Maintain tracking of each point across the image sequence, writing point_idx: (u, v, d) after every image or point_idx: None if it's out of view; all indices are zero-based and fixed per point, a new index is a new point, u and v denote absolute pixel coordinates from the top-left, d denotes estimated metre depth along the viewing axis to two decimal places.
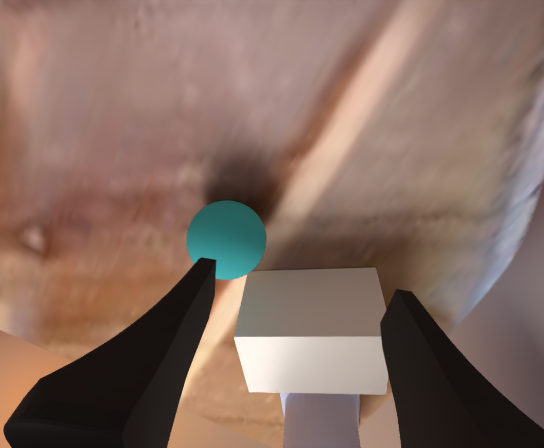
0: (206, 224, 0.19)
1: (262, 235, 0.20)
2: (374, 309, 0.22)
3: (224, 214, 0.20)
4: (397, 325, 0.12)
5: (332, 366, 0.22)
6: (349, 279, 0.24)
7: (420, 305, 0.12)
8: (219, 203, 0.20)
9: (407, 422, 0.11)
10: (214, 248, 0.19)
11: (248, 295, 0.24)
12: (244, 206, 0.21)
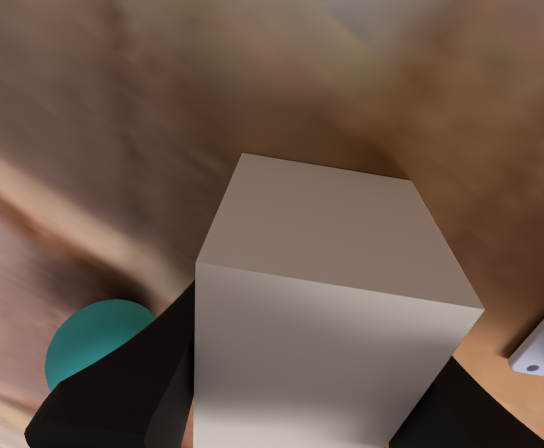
0: None
1: (85, 326, 0.14)
2: None
3: None
4: None
5: (304, 379, 0.09)
6: None
7: None
8: None
9: None
10: None
11: None
12: (70, 317, 0.15)
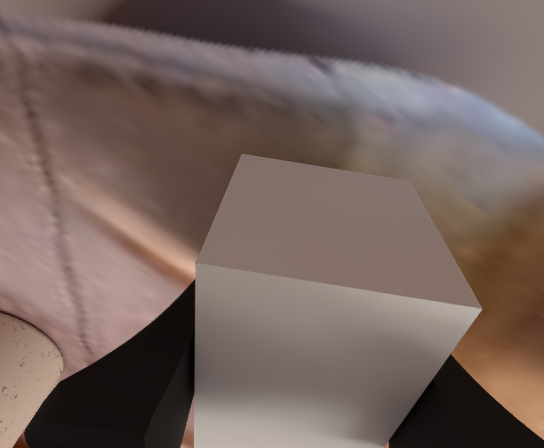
0: None
1: None
2: None
3: None
4: None
5: (303, 378, 0.09)
6: None
7: None
8: None
9: None
10: None
11: None
12: None
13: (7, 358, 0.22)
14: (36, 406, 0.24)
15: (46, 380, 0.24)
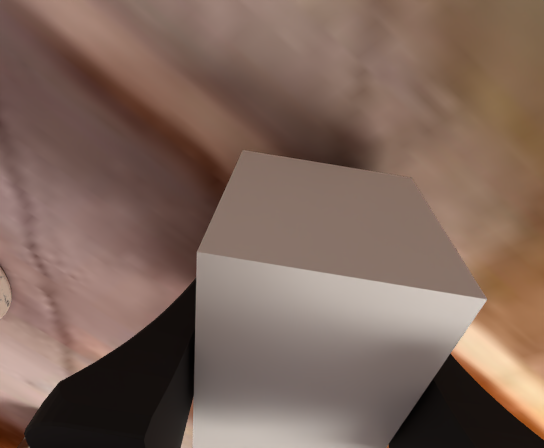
0: None
1: None
2: None
3: None
4: None
5: (305, 374, 0.09)
6: None
7: None
8: None
9: None
10: None
11: None
12: None
13: None
14: None
15: None
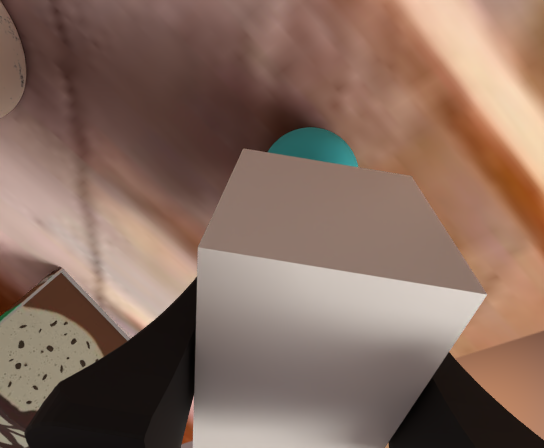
0: None
1: None
2: None
3: None
4: None
5: (305, 371, 0.09)
6: None
7: None
8: None
9: None
10: None
11: None
12: None
13: None
14: None
15: None
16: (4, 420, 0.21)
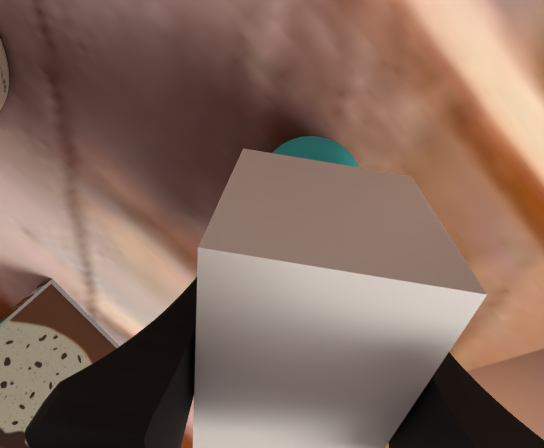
0: None
1: None
2: None
3: None
4: None
5: (305, 371, 0.09)
6: None
7: None
8: None
9: None
10: None
11: None
12: None
13: None
14: None
15: None
16: None
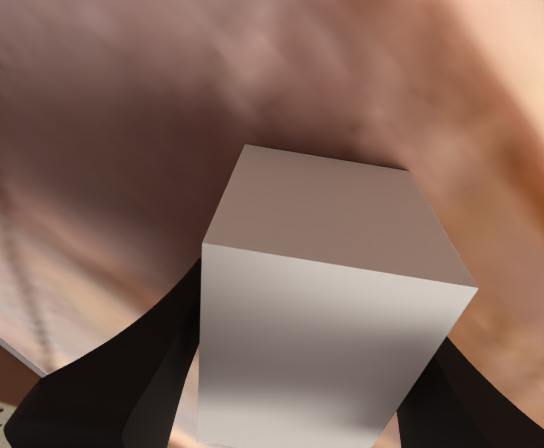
0: None
1: None
2: None
3: None
4: None
5: (305, 360, 0.09)
6: None
7: None
8: None
9: (407, 422, 0.11)
10: None
11: None
12: None
13: None
14: None
15: None
16: None
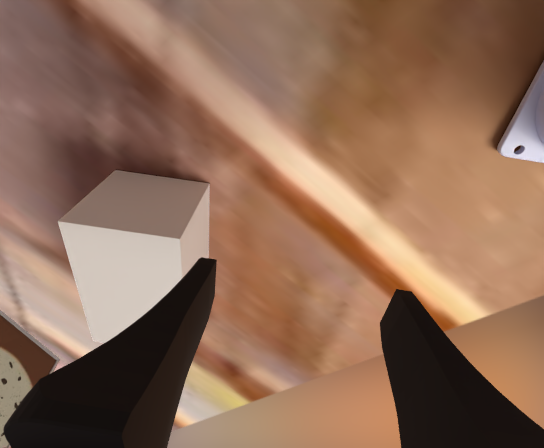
0: None
1: None
2: None
3: None
4: (397, 325, 0.12)
5: (126, 281, 0.19)
6: None
7: (420, 305, 0.12)
8: None
9: (407, 422, 0.11)
10: None
11: None
12: None
13: None
14: None
15: None
16: None
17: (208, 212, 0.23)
